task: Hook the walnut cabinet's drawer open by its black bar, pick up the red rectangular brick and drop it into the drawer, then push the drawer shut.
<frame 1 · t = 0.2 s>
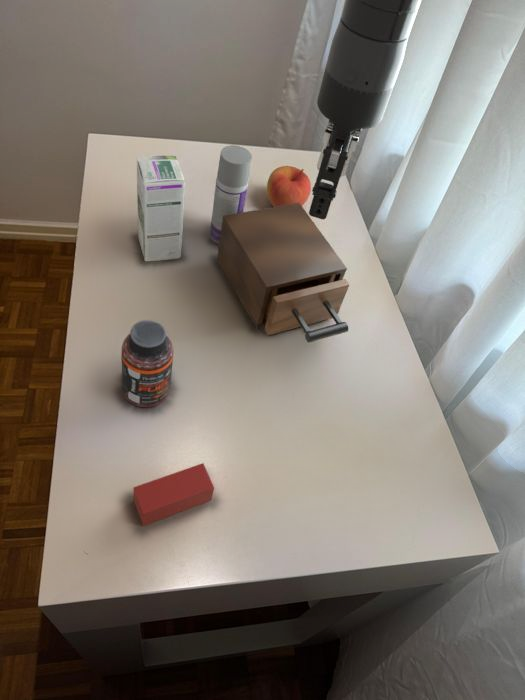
hand: (323, 196, 73), 18 cm above the table, tool pointing down, fingers open, 8 cm apart
drawer: (295, 290, 82), point 4 cm above the table, slide at 1.0 cm
supplement bottle: (146, 390, 73), on the table
container: (224, 236, 93), on the table
apple: (283, 208, 100), on the table
cabinet: (273, 283, 88), on the table
syrup box: (158, 249, 88), on the table
red rectangular brick: (172, 500, 64), on the table
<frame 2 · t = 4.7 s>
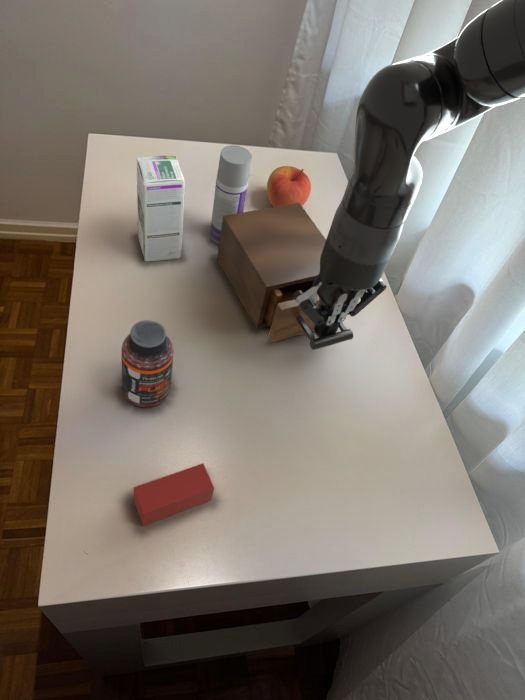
hand: (323, 335, 78), 4 cm above the table, tool pointing down, fingers closed
drawer: (299, 296, 81), point 4 cm above the table, slide at 2.3 cm, touching gripper
everything else where it was.
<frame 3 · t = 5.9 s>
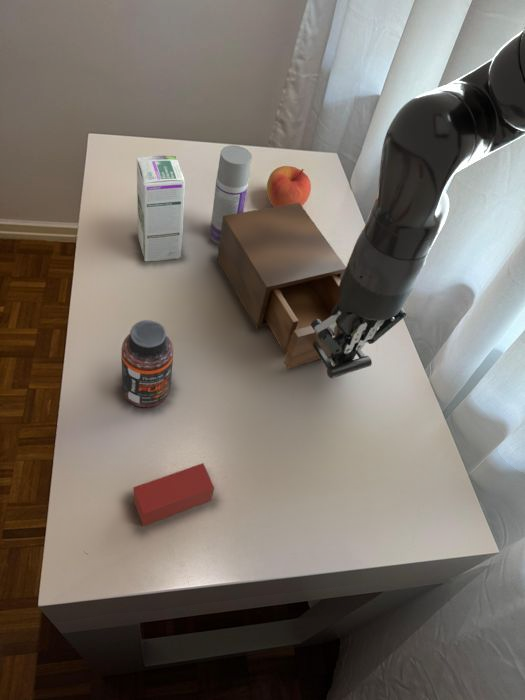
hand: (339, 362, 75), 4 cm above the table, tool pointing down, fingers closed
drawer: (315, 320, 79), point 4 cm above the table, slide at 7.0 cm, touching gripper
everything else where it was.
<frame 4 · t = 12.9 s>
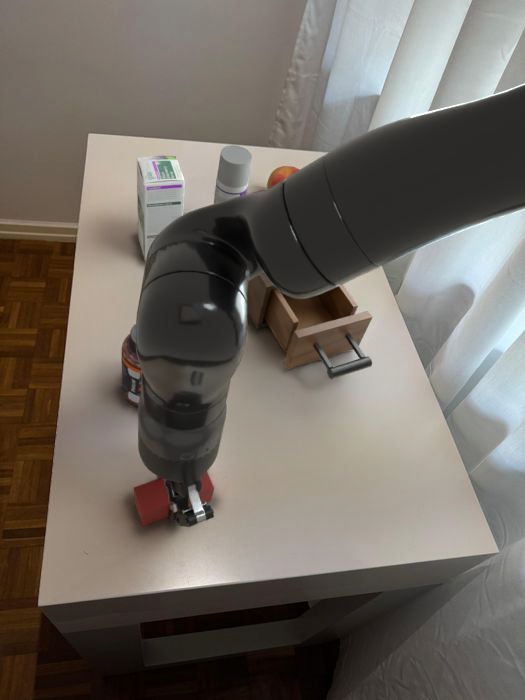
hand: (172, 499, 64), 0 cm above the table, tool pointing down, fingers closed on red rectangular brick, 3 cm apart
drawer: (315, 321, 78), point 4 cm above the table, slide at 7.1 cm
red rectangular brick: (172, 500, 64), on the table, touching gripper
everything else where it was.
when the fingers open (7 cm above the table, at t = 20.4 s): red rectangular brick drops 5 cm, resting on drawer.
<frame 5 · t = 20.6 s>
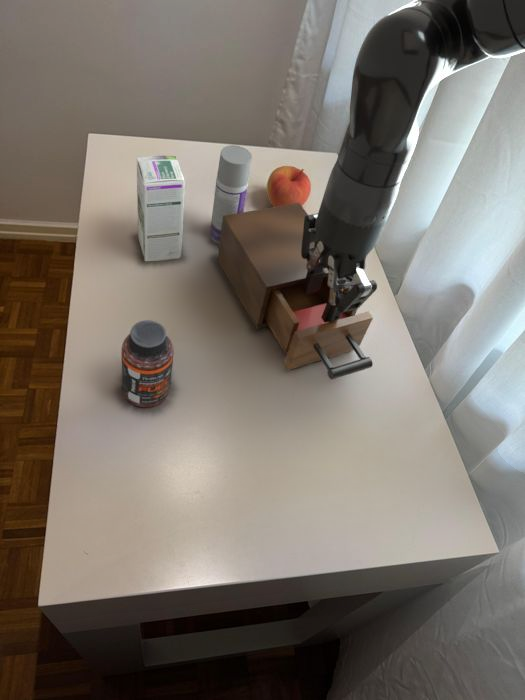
hand: (319, 304, 76), 7 cm above the table, tool pointing down, fingers open, 4 cm apart
drawer: (316, 322, 78), point 4 cm above the table, slide at 7.2 cm, touching red rectangular brick, gripper
red rectangular brick: (311, 331, 80), point 2 cm above the table, touching drawer
everything else where it was.
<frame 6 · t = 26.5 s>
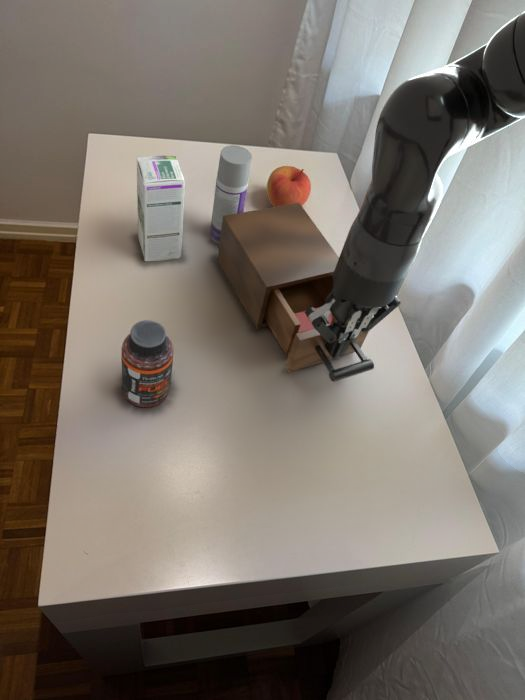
hand: (334, 351, 75), 5 cm above the table, tool pointing down, fingers closed
drawer: (317, 324, 78), point 4 cm above the table, slide at 7.6 cm, touching red rectangular brick, gripper
everything else where it was.
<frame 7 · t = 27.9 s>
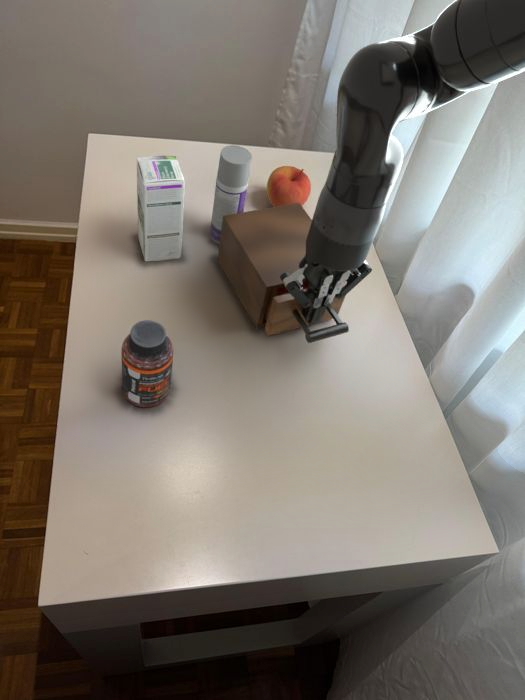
hand: (310, 318, 79), 4 cm above the table, tool pointing down, fingers closed
drawer: (295, 290, 81), point 4 cm above the table, slide at 1.1 cm, touching red rectangular brick, gripper
red rectangular brick: (291, 299, 83), point 2 cm above the table, touching drawer
everything else where it was.
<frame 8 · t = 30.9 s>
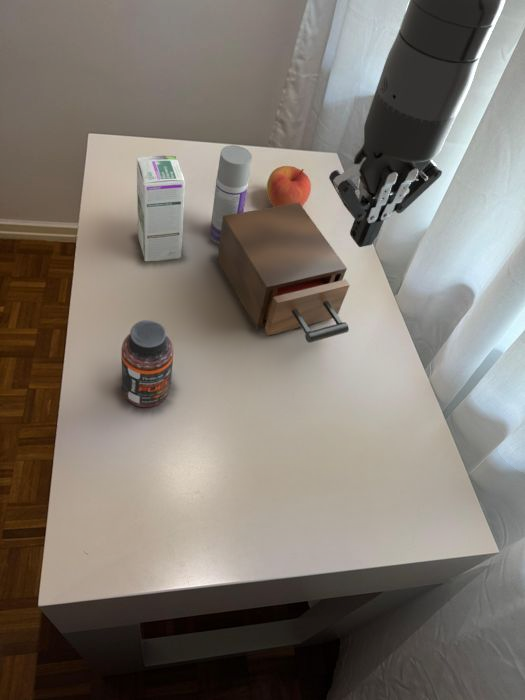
hand: (361, 241, 64), 21 cm above the table, tool pointing down, fingers closed
drawer: (295, 290, 81), point 4 cm above the table, slide at 1.1 cm, touching red rectangular brick
everything else where it was.
at the end: drawer pulled out 8.7 cm at the most during the clip, back to 1.1 cm at the end; red rectangular brick inside the target area in the cabinet (5.3 cm from its centre), point 2.0 cm above the cabinet's base; drawer slide at 1.1 cm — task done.
